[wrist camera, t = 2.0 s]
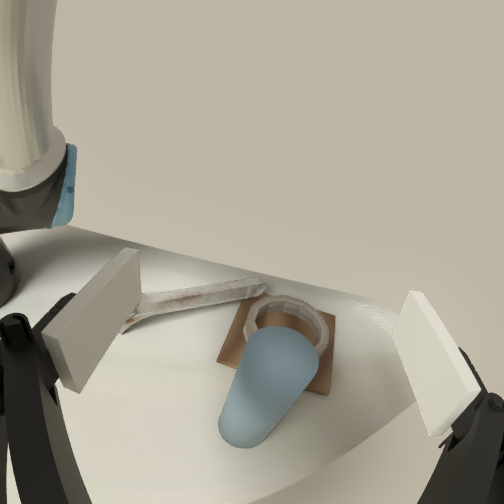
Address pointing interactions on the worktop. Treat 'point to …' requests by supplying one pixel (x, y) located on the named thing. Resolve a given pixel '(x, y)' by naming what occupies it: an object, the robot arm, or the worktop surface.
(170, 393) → the worktop surface
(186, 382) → the worktop surface
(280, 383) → the post
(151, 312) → the wrench
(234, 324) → the collar board
